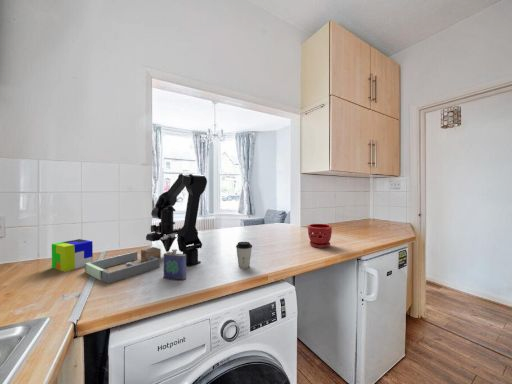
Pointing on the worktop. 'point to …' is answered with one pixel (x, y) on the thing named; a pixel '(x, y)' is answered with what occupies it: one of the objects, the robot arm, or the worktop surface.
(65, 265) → the puzzle toy
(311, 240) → the plant pot
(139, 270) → the box
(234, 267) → the worktop surface
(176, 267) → the flask
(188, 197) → the robot arm
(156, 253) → the walnut block
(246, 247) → the coffee cup
